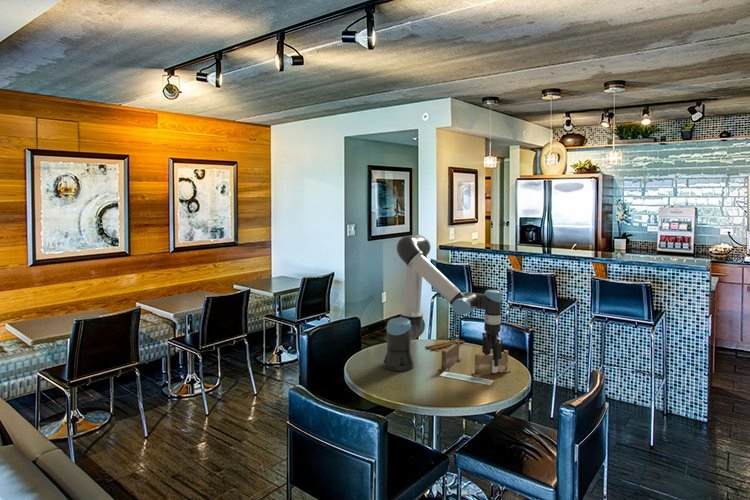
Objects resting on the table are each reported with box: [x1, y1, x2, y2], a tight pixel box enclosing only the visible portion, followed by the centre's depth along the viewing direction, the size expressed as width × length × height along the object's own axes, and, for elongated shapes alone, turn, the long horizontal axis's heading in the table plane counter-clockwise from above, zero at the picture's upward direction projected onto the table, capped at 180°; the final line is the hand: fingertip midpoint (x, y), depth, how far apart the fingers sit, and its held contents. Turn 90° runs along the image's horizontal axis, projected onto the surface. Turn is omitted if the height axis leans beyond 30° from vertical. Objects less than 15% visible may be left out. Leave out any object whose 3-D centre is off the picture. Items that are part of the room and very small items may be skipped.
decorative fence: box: [424, 338, 465, 352], centre depth 282 cm, size 25×2×10 cm
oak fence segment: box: [471, 349, 511, 378], centre depth 237 cm, size 4×19×10 cm, turn 111°
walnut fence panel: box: [438, 341, 463, 373], centre depth 248 cm, size 4×21×10 cm, turn 151°
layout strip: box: [439, 371, 494, 386], centre depth 230 cm, size 24×6×1 cm, turn 61°
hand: (491, 370), depth 238 cm, fingers open, 5 cm apart
